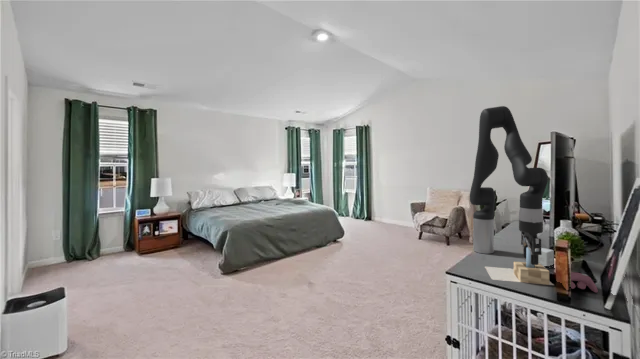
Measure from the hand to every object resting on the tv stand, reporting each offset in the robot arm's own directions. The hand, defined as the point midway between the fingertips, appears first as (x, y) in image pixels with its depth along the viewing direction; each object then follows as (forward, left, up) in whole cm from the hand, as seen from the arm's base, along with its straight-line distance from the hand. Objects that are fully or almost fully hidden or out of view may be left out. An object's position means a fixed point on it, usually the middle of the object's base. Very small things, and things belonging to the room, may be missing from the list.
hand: (530, 260), depth 112 cm
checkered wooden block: (0, 0, -7) cm, 7 cm away
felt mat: (-3, -4, -7) cm, 9 cm away
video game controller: (+6, +12, -8) cm, 16 cm away
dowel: (0, 0, -7) cm, 7 cm away
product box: (-19, +10, -8) cm, 23 cm away
